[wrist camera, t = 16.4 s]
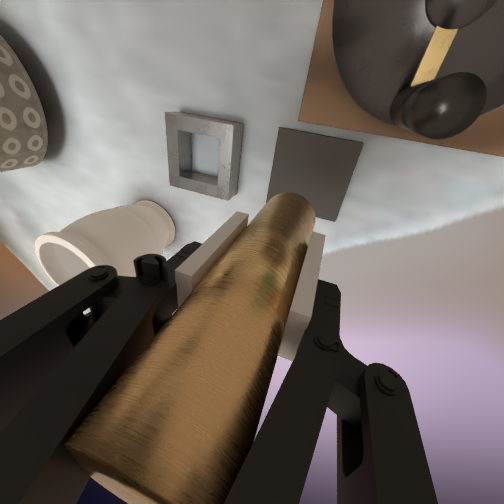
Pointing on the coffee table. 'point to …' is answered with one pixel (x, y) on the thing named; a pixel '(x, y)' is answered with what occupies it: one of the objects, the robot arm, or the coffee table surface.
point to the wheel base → (355, 118)
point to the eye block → (181, 155)
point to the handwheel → (422, 60)
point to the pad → (314, 169)
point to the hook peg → (202, 373)
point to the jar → (106, 241)
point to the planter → (19, 115)
